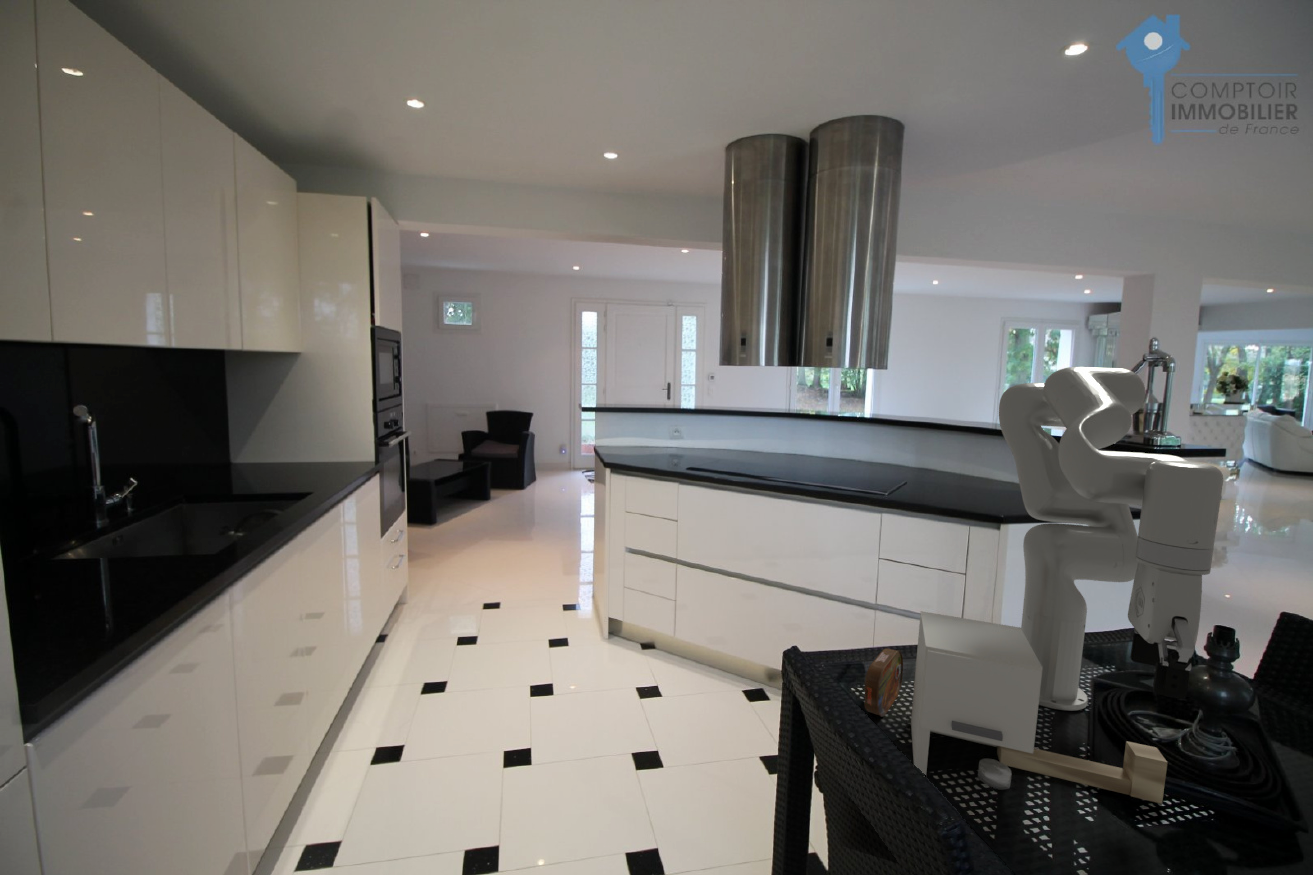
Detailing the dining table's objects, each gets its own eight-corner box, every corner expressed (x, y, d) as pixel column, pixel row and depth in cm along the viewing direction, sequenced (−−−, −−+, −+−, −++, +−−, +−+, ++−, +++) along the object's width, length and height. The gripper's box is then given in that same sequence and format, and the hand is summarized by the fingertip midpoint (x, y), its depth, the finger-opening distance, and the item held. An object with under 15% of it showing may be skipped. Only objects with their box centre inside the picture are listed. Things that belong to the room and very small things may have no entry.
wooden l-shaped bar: (996, 751, 90) (1000, 714, 90) (1151, 787, 83) (1156, 747, 83) (1000, 765, 87) (1004, 726, 86) (1162, 803, 80) (1167, 762, 80)
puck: (976, 768, 86) (977, 755, 86) (1007, 776, 85) (1008, 763, 85) (979, 785, 82) (981, 772, 82) (1012, 793, 81) (1014, 780, 81)
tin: (878, 725, 96) (882, 676, 95) (858, 718, 98) (862, 669, 97) (903, 689, 108) (907, 645, 107) (885, 683, 110) (889, 640, 109)
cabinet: (910, 722, 97) (920, 611, 95) (1008, 744, 92) (1020, 627, 90) (914, 780, 83) (926, 650, 81) (1030, 810, 78) (1045, 673, 76)
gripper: (1119, 535, 87) (1105, 646, 89) (1159, 568, 71) (1141, 702, 73) (1184, 543, 84) (1168, 658, 86) (1241, 579, 68) (1220, 719, 70)
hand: (1156, 678), depth 79 cm, fingers open, 9 cm apart
